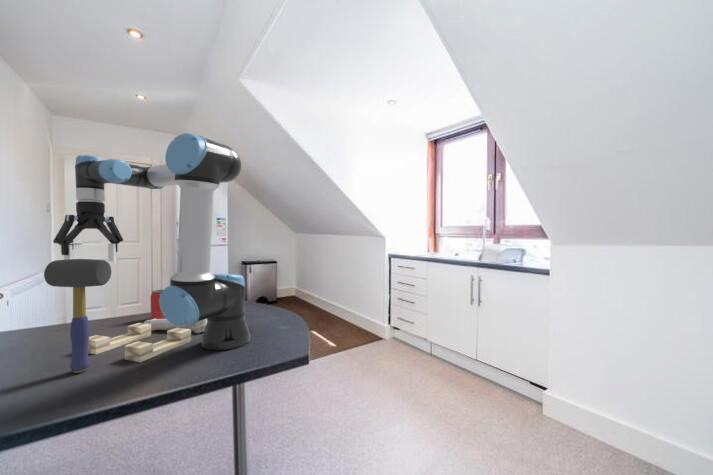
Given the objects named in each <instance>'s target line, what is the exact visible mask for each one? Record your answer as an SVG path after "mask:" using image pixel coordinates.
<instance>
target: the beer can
mask: <svg viewBox="0 0 713 475" xmlns="http://www.w3.org/2000/svg"><path fill="white" fill-rule="evenodd" d="M163 290H164V289H155V290H152V291H151V294H150V320H152V319H154V318H156V319H166V317H165V316H164V315H163V313H162V311H161V309H160V303H159V299H160V294H161V293H162V292H163Z"/></svg>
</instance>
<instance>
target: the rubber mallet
mask: <svg viewBox="0 0 713 475" xmlns="http://www.w3.org/2000/svg"><path fill="white" fill-rule="evenodd" d="M43 272H44V274H43V277H44V281H45V282H46V284H48V285H49V286H51V287H58V288H59V287H60V288H72V319H71V322H70V331H69V333H70V342H71V361H70V366H69V367H70V370H71V371H72V372H73V373H74V374H77V373H78V374H79V373H83V372H85V371H87V370H88V368H89V367H90V365H91V360H90V355H89V353H88V340H89V337H90V325H89V318H88V316H87V310H86V308H87V306H86V305H87V304H86V301H87V300H86V299H87V298H86V288H87V287H99V286H100V287H103V286H104V285H106V284H107V283H108V282H109V281H110V279H111V277H112V266H111V264H110V263H109V261H107V260H105V259H94V258H93V259H90V258H87V259H86V258H73V259H68V260H64V259H56V260H53V261H51V262H49V263H48V264H47V265H46V266H45V269H44V271H43Z"/></svg>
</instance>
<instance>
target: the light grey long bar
mask: <svg viewBox="0 0 713 475" xmlns="http://www.w3.org/2000/svg"><path fill="white" fill-rule="evenodd" d="M142 323H144V324H151V332H154V331H157V330H158V331H159V330H167V329H175V328H184V327H190V326H191V329H193V333H194V334H201V333H204V330H205V327H206V324H207V319H204V320H201V321H198V322H196V323H194V324H188V325H184V326H177V325H174V324H172V323H170V322H169V321H168V320H167V319H156V318H154V319H152V320H151V319H147V320H144V321H142Z"/></svg>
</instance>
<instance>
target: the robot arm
mask: <svg viewBox="0 0 713 475" xmlns="http://www.w3.org/2000/svg"><path fill="white" fill-rule="evenodd" d="M165 151H166V152H165V156H164V157H165V158H164V159H165V164H157V165H151V166H140V165H135V164H131V163H127V162H126V161H125V160H123V159H117V158H116V159H115V158H109V159H106V160H105V159H103V157H100V156H96V155H89V154H88V155H87V154H85V155H84V154H80V155H76V157H75V164H74V170H75V200H76V201H77V202H76V203H75V208H76V209H75V211H76V215H74V214H66V215H65V216H64V222H63V223H62V225H61V227H60V229H59V230H58V232H57V234H56V236H55V237H54V239H53V243H54V244H58V245H59V246H60V248H61V250H60V251H61V256H63V257H64V259H63V260H68V259H74V257H73V256H74V255H73V251H74V249H73V246H74V245H72V244H71V243H72V242H73V241H74V240H75V239H76V238H77V237H78V236H79V235H80V233H81V232H83V231H84V230H89V229H93V230H94V229H95V230H98V231H99V232H100V233H101V234H102V235H103V236H104V238H106V239H107V241H109V243H107V249H108V250H107V254H108V256H107V257H108V258H107V259H108V261H107V262H111V263H112V262H114V263H115V262H117V255H116V254H117V253H118V251H119V250H118V249H119V248H118V246H119V244H120V243H121V242H123V241H124V238H123V236H122V234H121V233H120V231H119V229H118V226H117V225H116V223H115V217H114V216H105V213H106V207H105V206H106V204H105V203H104V202H105V200H106V199H105V194H106V193H105V184H115V185H120V186H121V185H123V186H128V187H129V186H130V187H137V188H142V189H143V188H145V189H149V190H161V189H163V188H164V187H169V186H176V185H177V186H178V187H179V188H180V189H179V190H180V193H179V211H178V212H179V215H178V219H179V220H178V235H177V236H178V238H177V239H178V240H177V262H176V272H175V273H173V274H172V275H171V276H170V280H169V282H170V283H169V285H168V286H167V287H165V288H164V289H162V290H163V292H162V293H161V294H160V299H159V303H160V309H161V311H162V313H163V315H164V316H165V317H166V319H167V320H168V321H169V322H170V323H172V324H174V325H177V326H184V325H188V324H194V323H196V322H198V321H201V320H204V319H207V324H206V327H205V330H204V331H203V335H202V336H201V347H202V348H203V349H205V350H210V351H224V350H231V349H235V348H239V347H240V348H241V347H242V346H245V345H247V343H249V342H250V341H251V333H250V330H249V326H248V323H247V320H246V317H245V312H246V310H245V309H246V306H245V305H246V304H245V303H246V302H245V301H246V298H245V297H246V296H245V295H246V293H245V292H246V290H245V288H246V285H245V283H246V282H245V277H244V276H243V275H241V274H229V273H212V272H211V269H210V268H211V250H212V232H213V231H212V230H213V209H214V193H215V190H217V189H218V188H220V185H221V183H229V182H233V181H234V180H235V179H236V178H238V176H239V175H240V174H241V173H240V172H241V170H242V161H241V160H242V159H241V158H240V155H239V154H238V153H237V152H236V150H235V149H233V148H232V147H230V146H229V145H226V144H222V143H219V142H217V141H215V140H211V139H209V138H207V137H204V136H202V135H197V134H193V133H187V132H186V133H180V134H179V135H177V136H175V137H174V138H173V140H171V141H170V143H169V144H168V146H167V147H166V150H165ZM74 222H77V224H75V226H74ZM104 222H105V223H104ZM73 226H74V228H73V229H72V227H73Z"/></svg>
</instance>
